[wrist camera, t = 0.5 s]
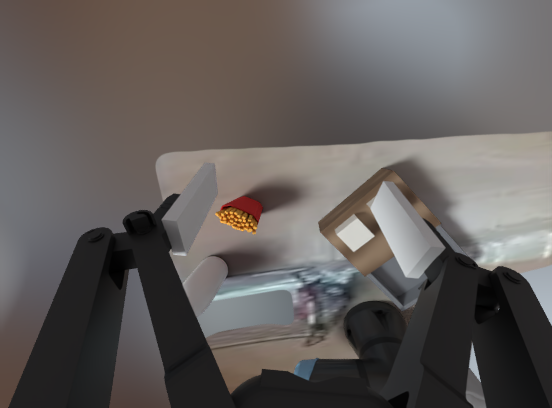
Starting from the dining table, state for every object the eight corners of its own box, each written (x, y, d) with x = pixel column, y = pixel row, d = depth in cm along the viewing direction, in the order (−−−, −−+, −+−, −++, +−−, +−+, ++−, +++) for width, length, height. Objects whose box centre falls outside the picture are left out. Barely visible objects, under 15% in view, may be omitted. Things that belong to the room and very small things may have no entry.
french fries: (231, 206, 50) (210, 224, 38) (237, 192, 48) (216, 205, 37) (263, 220, 50) (252, 241, 38) (269, 205, 48) (259, 223, 37)
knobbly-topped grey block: (477, 370, 53) (509, 411, 45) (449, 401, 57) (474, 444, 49) (439, 356, 54) (464, 394, 45) (414, 387, 57) (433, 428, 49)
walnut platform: (423, 213, 44) (441, 223, 39) (357, 261, 49) (365, 276, 44) (381, 168, 43) (394, 171, 37) (318, 222, 48) (320, 232, 42)
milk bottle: (203, 251, 54) (150, 308, 35) (231, 259, 54) (192, 321, 35) (199, 275, 56) (147, 341, 37) (226, 283, 56) (186, 353, 37)
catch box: (462, 256, 46) (477, 266, 42) (394, 299, 51) (402, 311, 47) (423, 213, 44) (434, 219, 41) (357, 261, 49) (362, 271, 46)
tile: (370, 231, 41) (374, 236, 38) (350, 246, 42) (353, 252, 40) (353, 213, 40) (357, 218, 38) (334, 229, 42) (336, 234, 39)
